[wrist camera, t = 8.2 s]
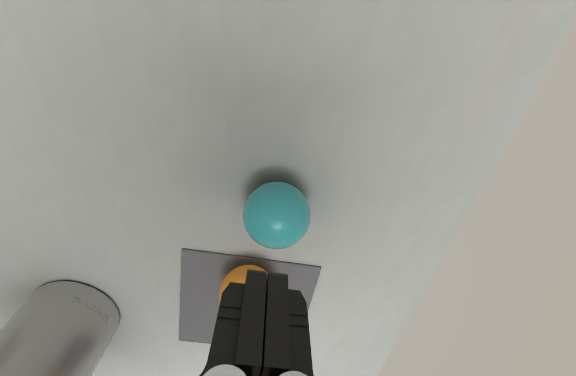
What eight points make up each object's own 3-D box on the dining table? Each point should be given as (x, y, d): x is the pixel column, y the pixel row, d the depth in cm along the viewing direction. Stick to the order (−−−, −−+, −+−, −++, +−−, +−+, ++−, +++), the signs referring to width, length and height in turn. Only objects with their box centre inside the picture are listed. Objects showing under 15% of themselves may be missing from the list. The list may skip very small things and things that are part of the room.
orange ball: (255, 246, 33) (249, 286, 35) (209, 266, 29) (205, 309, 31) (292, 277, 30) (283, 319, 32) (246, 304, 26) (239, 349, 28)
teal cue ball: (284, 176, 23) (269, 162, 28) (231, 232, 23) (226, 208, 28) (333, 222, 24) (311, 201, 30) (285, 274, 25) (271, 244, 30)
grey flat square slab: (294, 350, 39) (294, 352, 39) (179, 338, 38) (179, 340, 38) (321, 266, 33) (321, 268, 32) (182, 248, 31) (181, 249, 31)
